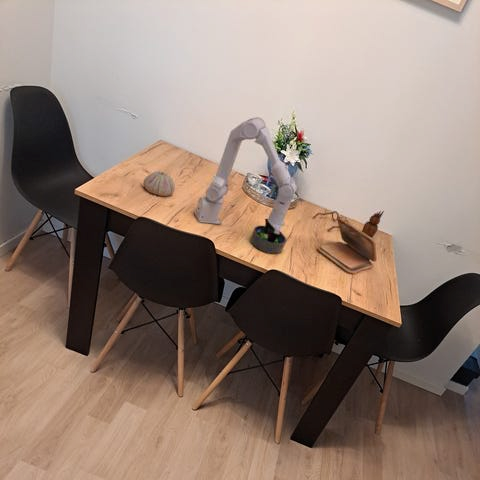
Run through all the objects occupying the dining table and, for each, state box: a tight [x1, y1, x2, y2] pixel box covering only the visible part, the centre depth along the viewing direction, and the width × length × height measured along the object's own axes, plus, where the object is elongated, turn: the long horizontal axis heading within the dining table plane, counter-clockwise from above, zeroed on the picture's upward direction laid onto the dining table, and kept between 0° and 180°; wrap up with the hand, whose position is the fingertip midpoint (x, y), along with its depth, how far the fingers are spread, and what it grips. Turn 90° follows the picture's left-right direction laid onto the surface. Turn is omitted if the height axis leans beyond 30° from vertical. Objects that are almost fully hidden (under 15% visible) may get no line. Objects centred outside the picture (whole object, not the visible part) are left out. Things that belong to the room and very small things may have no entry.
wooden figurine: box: [361, 210, 385, 239], centre depth 229 cm, size 7×6×15 cm
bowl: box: [250, 225, 287, 254], centre depth 189 cm, size 14×14×5 cm
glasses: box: [312, 210, 350, 232], centre depth 229 cm, size 13×13×5 cm
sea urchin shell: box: [143, 170, 176, 197], centre depth 196 cm, size 13×14×8 cm
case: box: [317, 217, 378, 274], centre depth 200 cm, size 20×21×16 cm
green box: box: [258, 233, 278, 243], centre depth 189 cm, size 8×5×3 cm, turn 96°
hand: (267, 240), depth 189 cm, fingers open, 6 cm apart
